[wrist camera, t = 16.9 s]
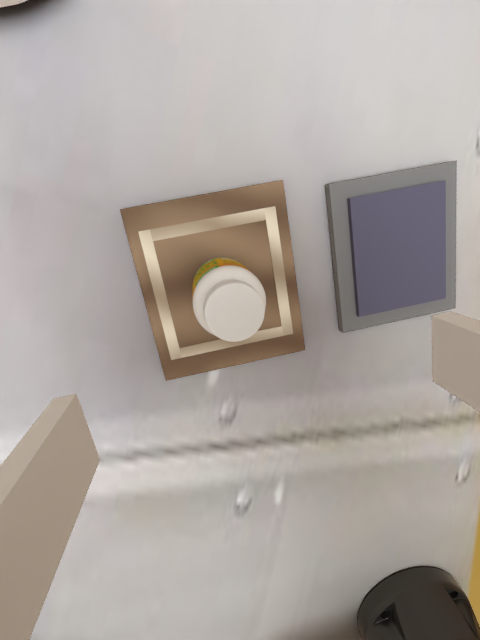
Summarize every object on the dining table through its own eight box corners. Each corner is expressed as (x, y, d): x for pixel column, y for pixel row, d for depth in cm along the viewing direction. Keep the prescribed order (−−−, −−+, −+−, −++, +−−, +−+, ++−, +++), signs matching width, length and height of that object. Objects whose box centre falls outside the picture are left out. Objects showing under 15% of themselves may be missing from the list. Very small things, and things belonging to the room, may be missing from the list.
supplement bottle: (208, 245, 30) (215, 256, 21) (261, 272, 32) (290, 294, 22) (182, 299, 31) (178, 332, 22) (234, 323, 33) (251, 364, 23)
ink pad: (448, 305, 36) (459, 309, 34) (339, 329, 35) (345, 334, 34) (448, 162, 32) (461, 159, 30) (324, 185, 31) (331, 183, 29)
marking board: (302, 347, 35) (305, 350, 34) (166, 377, 34) (165, 381, 33) (280, 180, 30) (283, 179, 30) (121, 209, 29) (119, 209, 28)
